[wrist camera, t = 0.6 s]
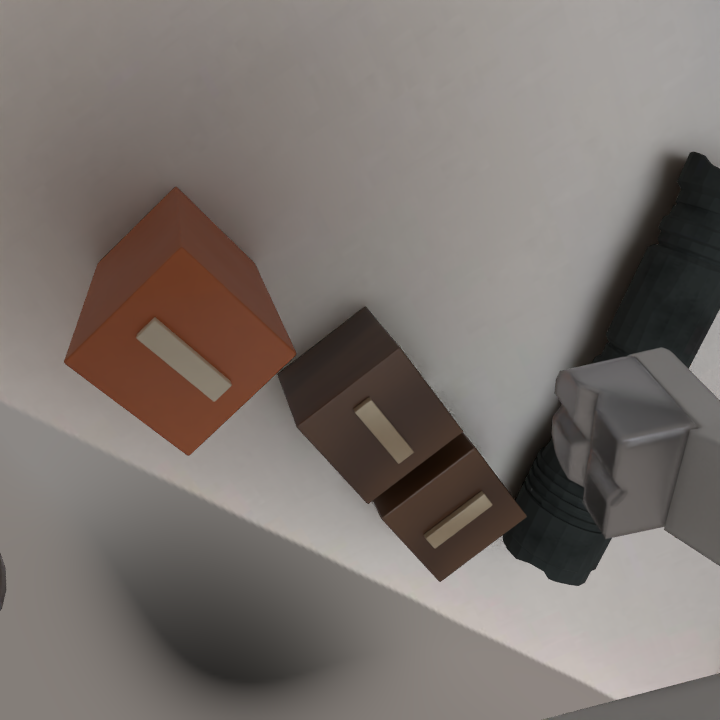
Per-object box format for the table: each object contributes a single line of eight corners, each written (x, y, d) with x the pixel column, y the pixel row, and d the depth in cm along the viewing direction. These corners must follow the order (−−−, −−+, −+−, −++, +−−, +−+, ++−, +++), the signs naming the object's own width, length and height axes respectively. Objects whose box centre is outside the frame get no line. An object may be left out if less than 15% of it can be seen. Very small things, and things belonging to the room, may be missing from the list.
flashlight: (483, 520, 37) (527, 583, 32) (657, 143, 31) (740, 156, 26) (557, 532, 39) (608, 592, 34) (735, 177, 33) (825, 194, 28)
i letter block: (96, 264, 27) (60, 367, 17) (175, 185, 26) (182, 249, 17) (181, 336, 29) (189, 462, 19) (255, 264, 28) (299, 358, 19)
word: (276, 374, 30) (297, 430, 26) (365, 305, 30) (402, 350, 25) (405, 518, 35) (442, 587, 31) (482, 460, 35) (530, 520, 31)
